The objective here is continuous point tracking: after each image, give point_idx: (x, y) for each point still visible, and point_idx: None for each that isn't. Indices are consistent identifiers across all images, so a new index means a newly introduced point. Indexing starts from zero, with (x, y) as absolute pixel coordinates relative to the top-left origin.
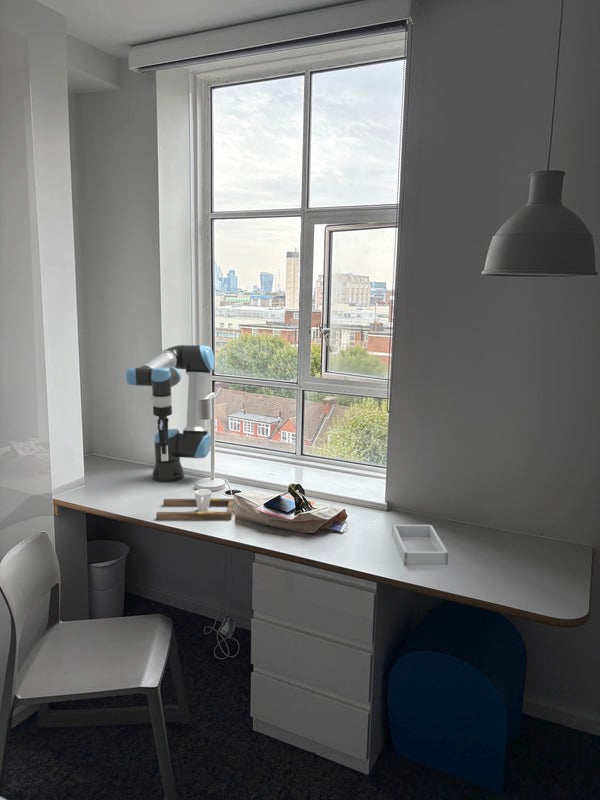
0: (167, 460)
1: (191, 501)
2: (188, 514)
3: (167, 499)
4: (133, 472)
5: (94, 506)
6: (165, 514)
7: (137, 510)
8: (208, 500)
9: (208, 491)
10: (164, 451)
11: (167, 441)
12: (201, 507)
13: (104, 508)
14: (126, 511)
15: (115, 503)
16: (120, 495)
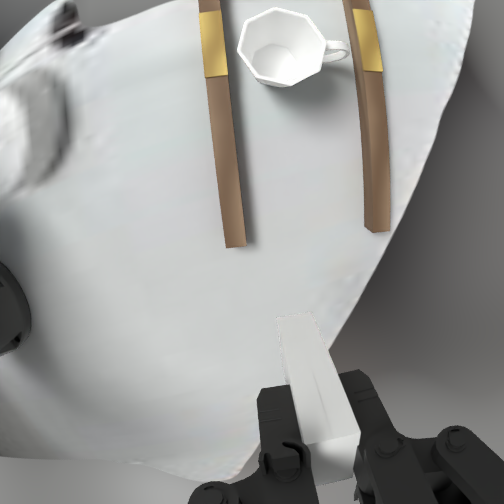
0: (313, 316)
1: (232, 122)
2: (384, 106)
3: (232, 232)
4: (14, 391)
5: None
6: (389, 195)
7: None
8: (293, 30)
9: (249, 26)
10: (373, 397)
11: (274, 492)
12: (346, 56)
13: None
14: None
15: (239, 390)
16: (171, 395)
